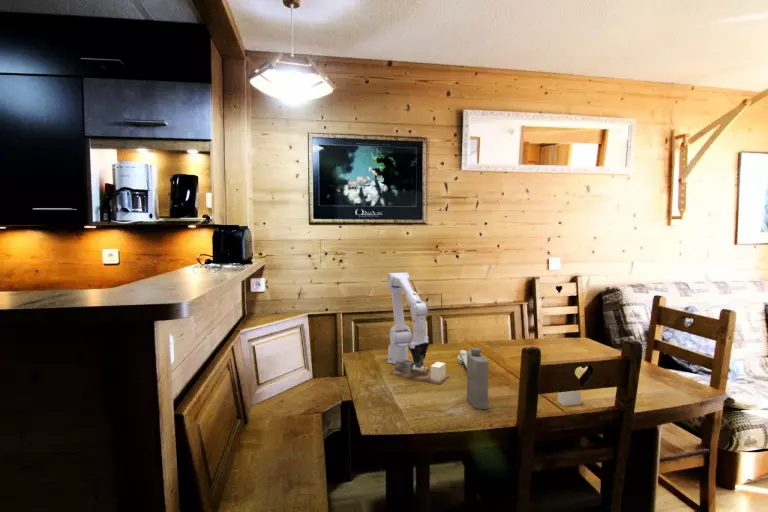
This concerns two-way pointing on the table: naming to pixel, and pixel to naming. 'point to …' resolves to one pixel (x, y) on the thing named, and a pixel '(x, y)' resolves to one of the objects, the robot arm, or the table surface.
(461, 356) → the toothbrush head
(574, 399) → the light grey block
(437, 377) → the socket block
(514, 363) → the table surface
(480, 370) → the flask
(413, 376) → the track base
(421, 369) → the dark grey angular piece
